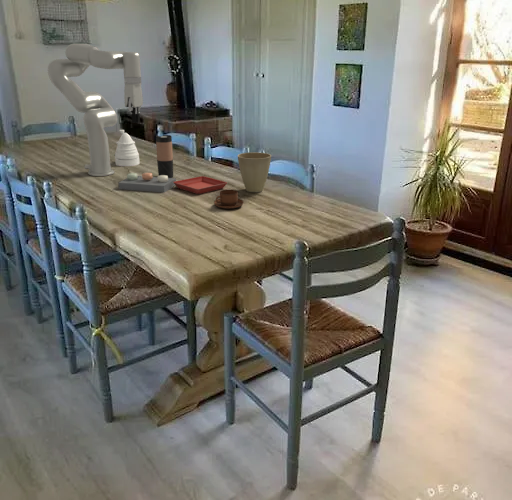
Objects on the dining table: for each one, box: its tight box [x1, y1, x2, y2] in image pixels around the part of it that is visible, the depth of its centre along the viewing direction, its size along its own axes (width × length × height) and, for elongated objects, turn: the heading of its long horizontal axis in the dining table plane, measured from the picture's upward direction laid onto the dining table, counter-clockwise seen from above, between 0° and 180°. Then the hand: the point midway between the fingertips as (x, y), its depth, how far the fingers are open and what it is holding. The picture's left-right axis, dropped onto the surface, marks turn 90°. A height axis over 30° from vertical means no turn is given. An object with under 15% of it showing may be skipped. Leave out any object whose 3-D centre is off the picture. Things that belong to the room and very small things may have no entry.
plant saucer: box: [173, 175, 228, 195], centre depth 237 cm, size 18×18×3 cm
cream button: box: [157, 175, 168, 182], centre depth 235 cm, size 5×5×2 cm
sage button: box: [126, 172, 138, 180], centre depth 238 cm, size 5×5×2 cm
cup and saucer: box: [213, 188, 244, 210], centre depth 210 cm, size 12×12×6 cm
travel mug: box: [155, 134, 174, 178], centre depth 253 cm, size 8×8×20 cm
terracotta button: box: [141, 172, 154, 180], centre depth 236 cm, size 5×5×2 cm
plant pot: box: [237, 151, 272, 193], centre depth 231 cm, size 15×15×16 cm
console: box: [118, 175, 177, 193], centre depth 238 cm, size 22×14×3 cm, turn 77°
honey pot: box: [114, 129, 141, 167], centre depth 281 cm, size 13×13×18 cm
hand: (136, 122), depth 241 cm, fingers closed
